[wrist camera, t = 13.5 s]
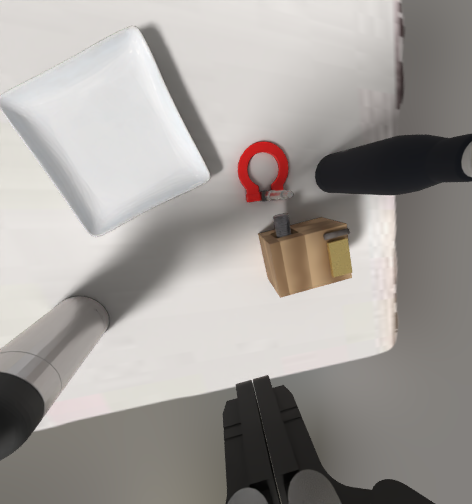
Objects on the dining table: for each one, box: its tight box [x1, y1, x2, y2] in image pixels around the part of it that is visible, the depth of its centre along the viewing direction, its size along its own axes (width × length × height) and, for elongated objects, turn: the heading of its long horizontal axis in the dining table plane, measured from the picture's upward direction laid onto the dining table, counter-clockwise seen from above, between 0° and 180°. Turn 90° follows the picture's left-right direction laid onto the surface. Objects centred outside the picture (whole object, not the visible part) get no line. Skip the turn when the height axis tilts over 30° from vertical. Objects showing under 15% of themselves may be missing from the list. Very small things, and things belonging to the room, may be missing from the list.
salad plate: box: [0, 26, 210, 237], centre depth 33 cm, size 21×21×3 cm
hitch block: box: [258, 217, 352, 298], centre depth 38 cm, size 12×9×9 cm
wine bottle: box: [315, 134, 472, 195], centre depth 25 cm, size 6×6×30 cm
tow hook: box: [238, 141, 293, 202], centre depth 32 cm, size 8×13×9 cm
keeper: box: [327, 238, 352, 277], centre depth 34 cm, size 3×6×1 cm, turn 14°
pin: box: [273, 213, 291, 238], centre depth 38 cm, size 13×5×5 cm, turn 14°
